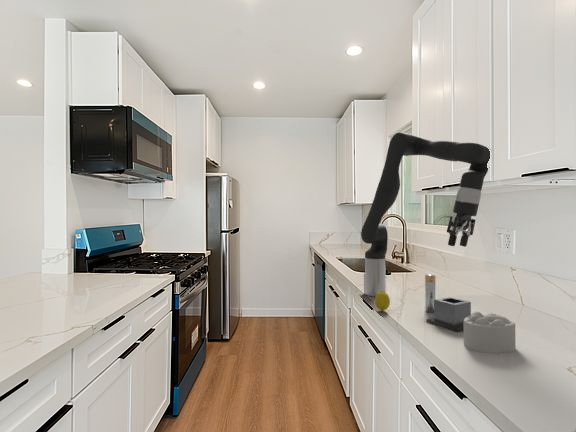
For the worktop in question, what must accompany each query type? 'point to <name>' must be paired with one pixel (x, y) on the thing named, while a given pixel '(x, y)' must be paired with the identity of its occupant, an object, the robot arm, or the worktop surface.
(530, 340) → the worktop surface
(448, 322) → the dark grey open bin
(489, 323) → the lumpy-topped squat cylinder
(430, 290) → the silver copper-banded cylinder
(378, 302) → the lemon
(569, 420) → the worktop surface
